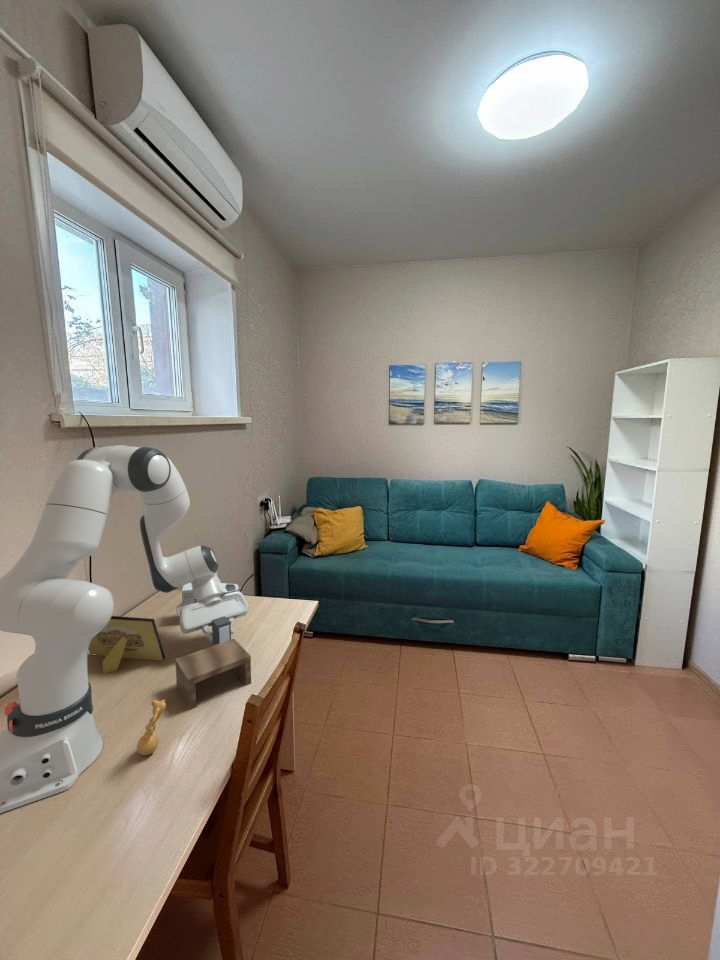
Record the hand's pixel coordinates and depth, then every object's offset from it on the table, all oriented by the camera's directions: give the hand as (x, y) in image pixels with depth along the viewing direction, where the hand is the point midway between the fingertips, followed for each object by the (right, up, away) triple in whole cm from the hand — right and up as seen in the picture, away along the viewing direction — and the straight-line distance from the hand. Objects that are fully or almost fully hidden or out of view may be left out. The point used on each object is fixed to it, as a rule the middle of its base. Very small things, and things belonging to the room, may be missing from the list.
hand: (222, 637), depth 118 cm
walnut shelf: (+2, -8, -13) cm, 15 cm away
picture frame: (-28, -6, -4) cm, 29 cm away
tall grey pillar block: (0, -6, +1) cm, 6 cm away
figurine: (-3, -11, -35) cm, 36 cm away
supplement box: (-18, -3, +23) cm, 29 cm away
